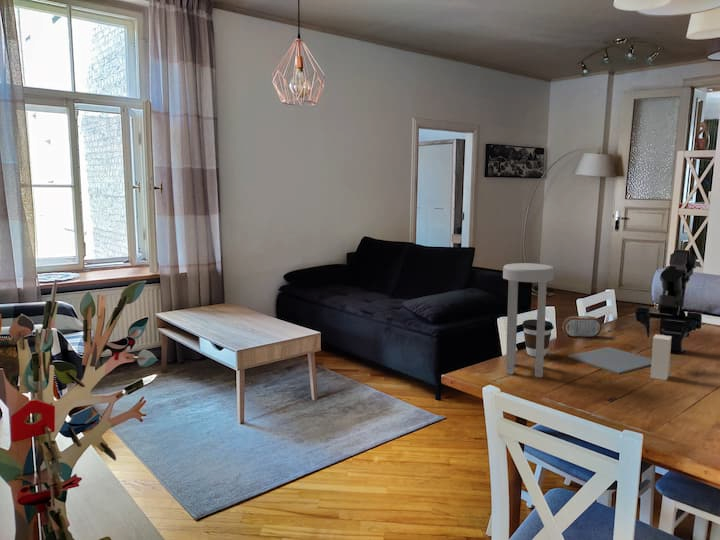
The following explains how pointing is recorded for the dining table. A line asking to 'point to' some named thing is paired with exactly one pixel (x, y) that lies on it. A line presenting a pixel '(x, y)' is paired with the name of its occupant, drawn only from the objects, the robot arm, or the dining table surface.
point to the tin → (581, 326)
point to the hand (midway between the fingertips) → (664, 339)
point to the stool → (515, 275)
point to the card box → (660, 357)
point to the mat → (612, 360)
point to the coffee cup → (531, 332)
